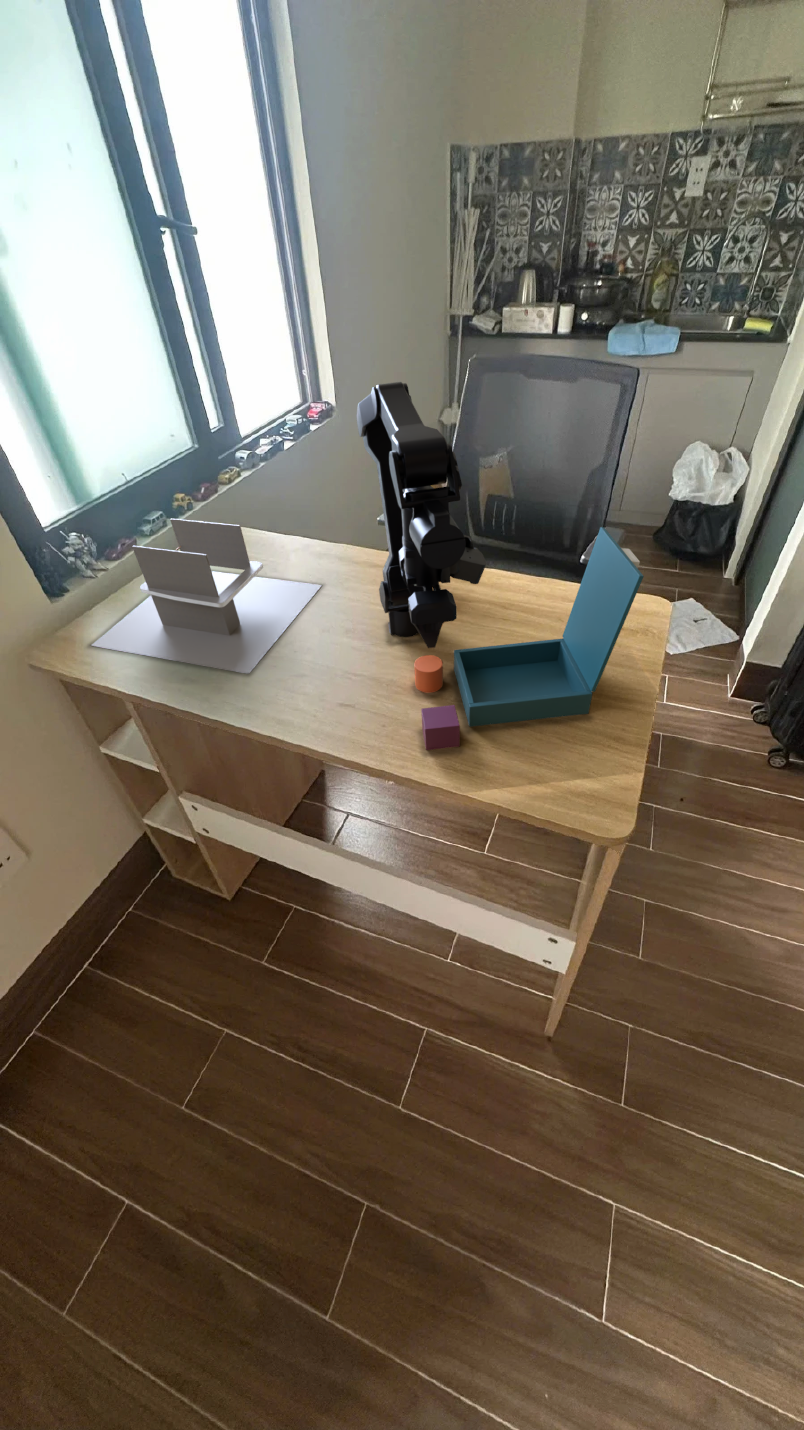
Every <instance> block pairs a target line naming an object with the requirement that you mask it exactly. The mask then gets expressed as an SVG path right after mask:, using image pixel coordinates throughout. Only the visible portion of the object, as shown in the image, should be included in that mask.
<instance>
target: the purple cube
mask: <svg viewBox="0 0 804 1430" xmlns="http://www.w3.org/2000/svg"><path fill="white" fill-rule="evenodd" d="M420 711H421V727H422V728H421V731H422V735H423V741H424V746H425V750H426V751H431V750H433V751H434V750H439V749H449V748H458V747H460V740H461V739H460V735H461V734H460V732H461V731H460V730H461V729H460V727H461V726H460V721H459V718H458V714H457V710H456V705H455V704H450V705H449V704H448V705H441V706H433V707H432V706H431V707H424V708H421V709H420Z"/></svg>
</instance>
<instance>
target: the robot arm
mask: <svg viewBox="0 0 804 1430" xmlns="http://www.w3.org/2000/svg"><path fill="white" fill-rule="evenodd" d="M356 425H357V426H356V427H357V432H358V435H359V437H360V438H362V439H363V446H364V449H365V451H366V452H367V453H368V454H369V456H370V458H371V459H372V460H373V461H374V463H375V464H376V469H377V477H378V482H379V483H378V484H379V491H380V498H381V506H382V513H383V520H384V527H385V533H386V542H387V548H388V549H387V550H388V556H387V558H386V561H385V563H384V566H383V568H382V579H383V580H382V581H380V585H379V588H378V592H379V601H380V603H381V606H382V608H383V612H384V614H388V632H389V634H390V635H391V636H397V637H400V638H412V637H414V636H417V635H418V634H419V636H420V637H421V638H422V640H423V642H424V644H425V645H426V647H427V648H428V649H434V648H436V645H437V642H438V639H439V637H440V633H441V629H442V627H443V624H444V623H447V622H454V621H455V620H457V619H458V617H457V616H458V613H457V609H458V608H457V607H458V606H457V603H456V600H455V597H454V594H453V593H452V592H451V591H449V590H448V589H447V588H441V584H449V583H451V578H452V579H456V580H459V581H460V580H461V581H464V582H468V583H470V584H471V585H478V584H479V583H480V582H481V579H482V576H483V573H484V571H485V570H486V569H485V568H486V566H487V561H486V559H485V556H484V555H483V552H482V551H480V550H479V548H478V547H474V543H473V540H472V537H471V536H469V535H465V534H464V533H463V531H461V528H460V527H459V526H458V524H457V523H456V521H455V520H454V518H453V517H452V515H451V513H450V508H449V507H450V505H449V503H454V502H461V492H460V490H461V489H462V486H463V483H462V477H461V473H460V471H459V465H458V460H457V455H456V453H455V452H454V451H453V446H452V445H451V443H448V441H447V439H446V437H445V436H444V435H443V434H442V433H441V432H440V431H439V429H438V428H434V427H430V426H426V425H425V424H424V422H423V420H422V418H421V416H420V415H419V412H418V410H417V408H416V407H415V405H414V403H413V400H412V395H410V392H409V386H408V384H407V383H406V382H404V383H403V382H402V381H396V382H388V383H380V384H376V386H373V387H372V388H371V392H370V393H369V394H368V395H367V396H365V398H363V399H361V401H360V402H358V404H357V409H356ZM447 483H448V486H441V487H435V488H434V487H433V486H437V485H444V484H447ZM440 583H441V584H440Z"/></svg>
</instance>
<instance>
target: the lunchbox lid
mask: <svg viewBox="0 0 804 1430" xmlns="http://www.w3.org/2000/svg"><path fill="white" fill-rule="evenodd" d="M640 563H641V562H640V560H639V559H638V558H637V556H636V555H635V554H634V553H633V551H632V550H631V549H630V548H625V547H621V546H620V545H619V543H618V542H617V541H616V540H615V538H613V536H612V535H611V534H610V532H608V530H607V529H606V527H604V526H600V527H599V530H598V533H597V536H596V539H595V542H594V544H593V547H592V550H591V553H590V556H589V559H588V562H587V565H586V568H585V570H584V572H583V576H582V579H581V582H580V585H579V588H578V590H577V593H576V595H575V599H574V603H573V605H572V608H571V610H570V614H569V616H568V619H567V622H566V624H565V627H564V631H563V633H562V638H563V639H564V641H565V642H566V644H567V646H568V648H569V650H570V652H571V654H572V656H573V658H574V660H575V661H576V663H577V665H578V667H579V669H580V671H581V673H582V675H583V677H584V679H585V681H586V682H587V684H588V686H589V688H590V690H591V692H592V693H595V692H596V690H597V688H598V686H599V683H600V680H601V679H602V676H603V674H604V672H605V669H606V667H607V665H608V662H609V660H610V657H611V654H612V652H613V650H614V648H615V646H616V643H617V640H618V638H619V637H620V634H621V631H622V629H623V626H624V624H625V622H626V619H627V617H628V615H629V613H630V610H631V608H632V605H633V603H634V600H635V598H636V596H637V594H638V591H639V589H640V586H641V584H642V582H643V580H644V575H643V573H642V572H641V571H640V570H639V565H640Z"/></svg>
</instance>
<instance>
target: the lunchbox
mask: <svg viewBox="0 0 804 1430" xmlns="http://www.w3.org/2000/svg"><path fill="white" fill-rule="evenodd" d="M453 670H454V675H455V680H456V682H457V686H458V690H459V694H460V697H461V700H462V705H463V708H464V712H465V716H466V720H467V724H468V727H469V728H473V727H482V726H490V725H498V724H499V725H500V724H508V723H517V722H525V721H527V722H528V721H534V720H535V721H536V720H544V719H553V718H561V717H562V718H563V717H571V716H579V715H581V716H582V715H589V713H590V708H591V703H592V699H593V692H591V690H590V688H589V686H588V684H587V682H586V681H585V679H584V677H583V675H582V673H581V671H580V669H579V667H578V665H577V663H576V661H575V660H574V658H573V656H572V654H571V652H570V650H569V648H568V646H567V644H566V642H565V641H564V639H563V637H562V638H554V639H545V640H535V641H526V642H515V643H508V644H506V643H505V644H497V645H488V646H478V647H469V648H460V649H454V650H453Z"/></svg>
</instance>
